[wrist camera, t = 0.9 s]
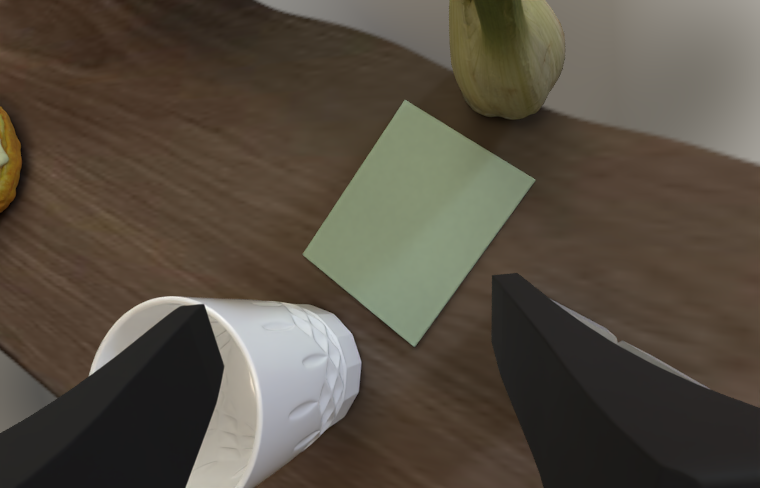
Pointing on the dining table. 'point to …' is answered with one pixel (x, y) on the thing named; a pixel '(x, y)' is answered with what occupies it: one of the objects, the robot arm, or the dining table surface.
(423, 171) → the sticky note
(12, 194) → the decorated donut
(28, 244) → the dining table surface
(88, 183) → the dining table surface
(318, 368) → the white cup
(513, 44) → the fennel bulb
